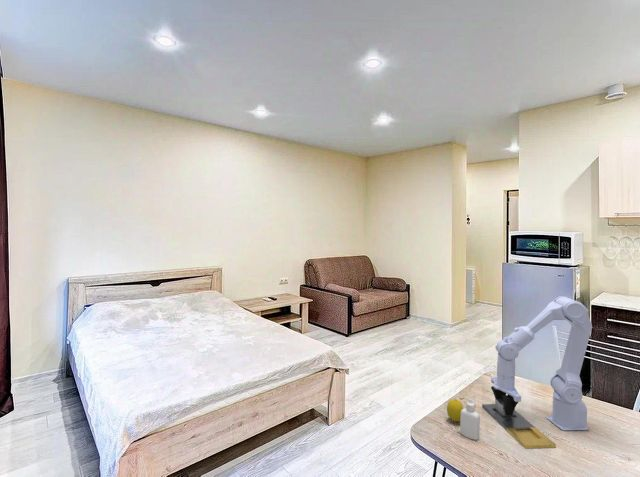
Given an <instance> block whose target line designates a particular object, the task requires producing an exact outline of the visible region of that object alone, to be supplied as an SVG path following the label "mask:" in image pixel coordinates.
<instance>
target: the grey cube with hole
mask: <svg viewBox="0 0 640 477" xmlns="http://www.w3.org/2000/svg"><path fill="white" fill-rule="evenodd" d="M494 404H495V412H496V413H497V414H498V415H499V416H500V417H501V418H509V417H514V415H515V411H516V408H515V409H514V412H513V415H512V416H507V415H506V414H505V404H504V400H503V399H495V398H494Z"/></svg>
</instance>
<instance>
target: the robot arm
mask: <svg viewBox="0 0 640 477" xmlns="http://www.w3.org/2000/svg"><path fill="white" fill-rule="evenodd" d="M553 321H567V322H568V323H569V325H570V326H571V328H570V331H569V335H568V338H567V342H566V346H565V350H564V354H563V358H562V361H561V366H560V367H559V368H558V369H557V370H555V373H554V375H553V376H552V377H551V379H550V382H549V383H550V386H551V388H552V390H553V392H552V411H551V412H552V413H551V414H552V415H547V416H546V415H545V418H546V419H547V420H548V421H550V423H552V424H553V425H554V426H556V427H557V428H559V429H560V430H562V431H565V432H566V431H589V427H587V423H588V422H587V421H588V408H587V405H586V403H585V402H584V401H583V395H584V394H583V392H582V389H583V388H582V387H583V384H582V379H581V377H580V375H581V370H582V367H583V362H584V359H585V356H586V351H587V347H588V343H589V340H590V337H591V333H592V330H593V325H592V320H591V319H590V316H589V309H588V308H587V306H585V305H584V304H583V303H581V302H580V301H578V300H574V299H572V298H570V297H568V296H564V295H562V296H561V295H560V296H557V297H556V298H554V300H553V301H550V302H549V303H548V304H547V306H546V307H545V308H544V309H543V310H542V311H541V312H540V313H538V314H537V315H536V317H534V318H533V319H532V320H531V321H529V323H528V324H527V325H524V326H523V325H520V326H518V327H517V326H516V327H515V328H514V329H513V330H514V331H512V332H511V333H510V334H509V335H508V336H505V337H504V338H503V339H500V340H498V342H497V343H496V345H494V346H495V350H496V352H497V359H496V360H497V361H496V377H495V376H493V377H490V383H491V384H494V385H493V386H491V387H490V389H491V391H492V392H493V393H492V394H493V395H494V400H495V399H503V400H504V404H505V414H506V415H507V416H512V415H513V412H514V409H515V410H516V407H517V405H518V404H519V402H522V395H521V394H520V393H519V392H518V390H517V389H516V387H515V384H516V382H515V381H516V359H517V358H518V357H519V352H520V351H522V350H523V349H524V348H525V347H526V346H527V345H529V344H530V343H531V342H533V341H534V340H535V334H536V333H538V332H539V331H541V330H542V329H543V328H544V327H546V326H548V325H549V324H550V323H552V322H553Z"/></svg>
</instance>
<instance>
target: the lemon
mask: <svg viewBox="0 0 640 477" xmlns="http://www.w3.org/2000/svg"><path fill="white" fill-rule="evenodd" d="M462 409H465V408H464V406H463V404H462V402H461V401H460V400H458V399H457V398H454V399H450V400H449V401H448V403H447V406H446V413H447V416H448V418H449V419H450V420H452V421H453V422H454V423H456V422H460V420H461V410H462Z"/></svg>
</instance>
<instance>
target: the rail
mask: <svg viewBox="0 0 640 477" xmlns="http://www.w3.org/2000/svg"><path fill="white" fill-rule="evenodd" d="M481 407H482V409H483V410H485V411H486V412H487V413H488V414H489V416H490V417H492V418H493V419H494V420H495V421H496V422H497V423H498V424H499V425H500V426H501V427H502V428H503V429H504V430H505V431H506V432H507V433H509V434H510V436H512V437H513V439H515V440H516V441H517V442H518V443H519V444H520V445H521V446H522V447H523V448H524V449H549V448H550V449H551V448H552V449H553V448H556V446H557V444H556V443H555V442H554V441H553V440H551V439H550V438H549V437H548V436H547V435H545V434H544V433H543V432H542V431H540V430H539V429H538V428H537V427H536V426H535V425H534V424H532V423H531V422H530V421H528V420H527V419H526V418H525V417H523V415H521V413H519V412H518V411H517V410H515V415H514V417H509V418H501V417H500V416H499V415H498V414H497V413H496V412H495V403H492V404H491V403H489V404H488V403H486V404H485V403H484V404H481Z"/></svg>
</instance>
